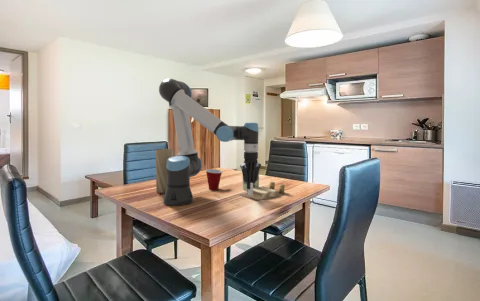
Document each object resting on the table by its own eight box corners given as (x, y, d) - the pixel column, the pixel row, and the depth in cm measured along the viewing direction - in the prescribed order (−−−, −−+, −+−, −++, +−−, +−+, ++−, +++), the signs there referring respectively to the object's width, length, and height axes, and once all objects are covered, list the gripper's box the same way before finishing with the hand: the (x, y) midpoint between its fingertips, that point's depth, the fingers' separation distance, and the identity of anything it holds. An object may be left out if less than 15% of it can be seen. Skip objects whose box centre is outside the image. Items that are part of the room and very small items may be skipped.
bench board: (256, 204, 140) (256, 192, 139) (238, 197, 153) (238, 186, 152) (290, 196, 156) (291, 185, 155) (271, 190, 168) (271, 180, 168)
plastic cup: (221, 191, 166) (222, 171, 164) (204, 190, 166) (204, 171, 165) (223, 187, 176) (223, 168, 175) (206, 186, 177) (206, 168, 175)
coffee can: (242, 189, 171) (243, 167, 170) (259, 189, 170) (259, 167, 169) (241, 193, 161) (241, 170, 160) (258, 194, 160) (259, 170, 159)
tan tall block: (163, 193, 158) (162, 150, 155) (152, 190, 164) (151, 149, 161) (176, 190, 166) (176, 149, 163) (166, 187, 172) (165, 148, 169)
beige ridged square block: (261, 199, 144) (261, 193, 144) (247, 194, 154) (247, 189, 154) (277, 195, 152) (277, 190, 151) (262, 191, 161) (263, 186, 161)
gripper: (245, 152, 138) (245, 198, 140) (264, 151, 146) (263, 194, 148) (237, 151, 144) (236, 194, 146) (255, 150, 152) (255, 191, 154)
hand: (250, 194), depth 147 cm, fingers closed
